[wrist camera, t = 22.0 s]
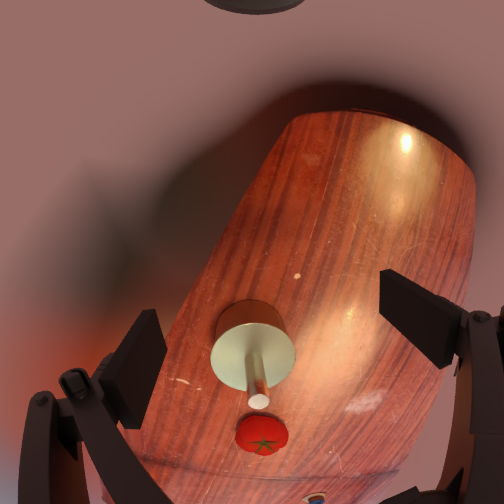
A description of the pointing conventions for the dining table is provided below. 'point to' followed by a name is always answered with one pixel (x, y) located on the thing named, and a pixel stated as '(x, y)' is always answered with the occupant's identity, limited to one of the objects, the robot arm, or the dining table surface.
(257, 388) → the lid
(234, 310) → the round metal container
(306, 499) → the dessert
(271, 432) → the tomato
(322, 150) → the dining table surface
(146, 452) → the dining table surface
